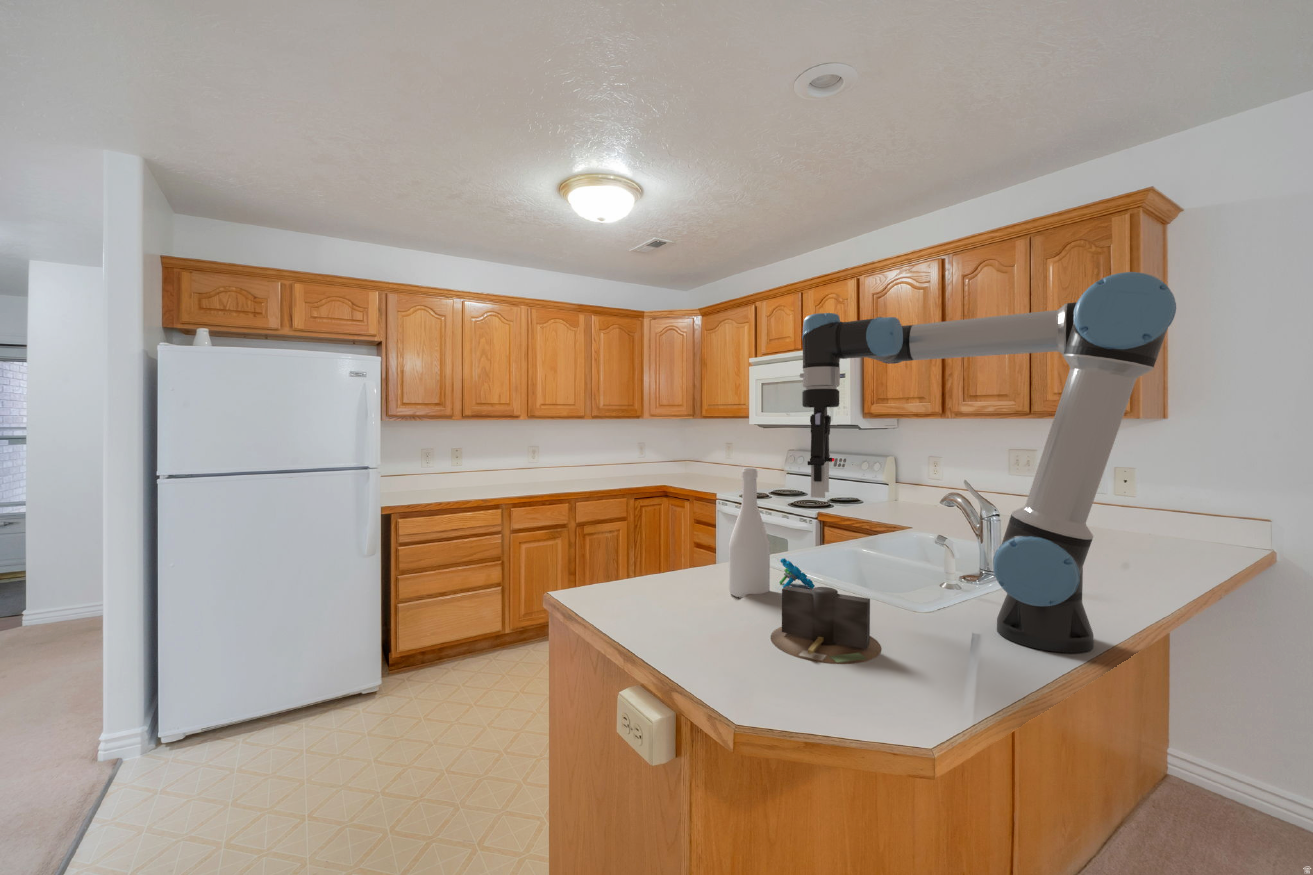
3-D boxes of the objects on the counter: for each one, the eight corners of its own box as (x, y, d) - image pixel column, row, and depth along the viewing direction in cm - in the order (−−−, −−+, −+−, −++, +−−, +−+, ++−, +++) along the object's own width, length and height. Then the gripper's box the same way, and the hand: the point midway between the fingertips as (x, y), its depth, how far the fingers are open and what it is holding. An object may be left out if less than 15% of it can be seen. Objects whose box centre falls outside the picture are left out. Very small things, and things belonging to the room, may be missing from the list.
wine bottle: (721, 591, 137) (721, 467, 137) (754, 586, 141) (754, 466, 141) (743, 602, 129) (743, 470, 128) (777, 597, 133) (778, 468, 132)
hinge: (870, 644, 100) (871, 593, 100) (857, 668, 90) (857, 611, 90) (787, 628, 108) (787, 581, 108) (766, 648, 98) (767, 596, 98)
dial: (889, 642, 105) (889, 633, 105) (869, 682, 89) (869, 672, 89) (789, 623, 115) (789, 615, 115) (754, 656, 99) (754, 647, 99)
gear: (822, 587, 135) (792, 557, 135) (806, 606, 134) (775, 576, 134) (805, 580, 146) (777, 553, 146) (790, 598, 145) (762, 570, 145)
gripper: (808, 391, 132) (807, 488, 132) (795, 386, 111) (795, 500, 112) (842, 390, 129) (841, 489, 130) (836, 385, 108) (835, 502, 109)
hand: (820, 494), depth 121 cm, fingers open, 9 cm apart
